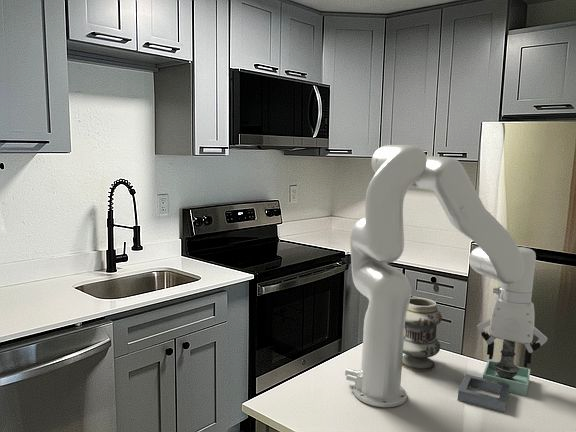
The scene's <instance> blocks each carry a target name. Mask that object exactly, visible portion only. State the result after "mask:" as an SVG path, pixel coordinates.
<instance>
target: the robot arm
mask: <svg viewBox="0 0 576 432" xmlns="http://www.w3.org/2000/svg"><path fill="white" fill-rule="evenodd" d="M371 168H372V170H373V172H374V173H375V174H374V175H373V176H372V179H371V180H370V182H369V184H368V186H367V189H366V194H365V204H364V205H365V206H364V207H365V209H364V210H365V213H364V214H365V215H364V216H365V217H363V218H360V219H359V220H358V221H356V223H355V224H354V225H353V227H352V230H351V233H350V240H349V241H350V242H349V245H350V246H349V247H350V261H351V262H350V263H351V275H352V282H353V285H354V286H355V288H356V290H357V291H358V292H359V293H360V294H362V295H363V296H364V297H366V298H367V299H368V306H367V309H366V312H365V314H364V320H363V330H362V331H363V335H362V338H363V339H362V349H361V350H362V352H361V367H360V368H361V369H359V370H355V369H352V368H348V367H347V368H346V369H345V372H344V375H345V378H346V381H350V382H354V383H355V384H354V386H353V394H354V397H356V399H358V400H359V401H361V402H363V403H364V404H367V405H369V406H373V407H378V408H395V407H398V406H401V405H403V404H404V403H405V402H406V401H407V391H406V389H405V388H404V387H403V386H401V385H402V384H401V383H402V382H401V381H402V369H403V366H402V358H403V356H404V353H403V345H404V330H405V320H406V314H407V309H408V305H409V302H410V298H412V297H411V296H412V286H411V283H410V281H409V279H408V277H407V276H406V275H405V274H404V273H403V272H402V271H400V270H399V269H397V268H395V267H394V266H392V265H390V264H389V263H394V262H397V261H398V260H399V259H400V257H401V256H402V255H403V253H404V250H405V249H404V248H405V234H404V233H405V232H404V231H405V230H404V200H405V196H406V194H407V192H408V190H409V189H410V188H411V187H412V188H417V189H421V190H426V191H431V192H433V193H434V195H435V197H436V198H437V200H438V202H439V204H440V205H441V207H442V209H443V211H444V213H445V215H446V217H447V218H448V220H449V222H450V224H451V225H452V227H454V228H455V229H456V230H457V231H459V233H461V234H463V235H464V236H466V238H468V239H470V240H471V241H473V242H474V243H475V244H476V245H477V247H475V248H474V249H472V251H471V252H470V253H469V256H468V263H469V265H470V267H471V269H472V270H473V271H474V272H475V273H477V274H480V275H482V276H484V277H487V278H490V279H492V280H494V281H496V282H499V287H493V290H492V293H493V294H496V295H497V296H496V298H495V299H494V301H493V305H492V308H491V313H490V315H491V316H490V318H489V319H486V320H485V321H483V322H481V323H478V324H477V326H476V328H477V330H478V332H479V333H480V335H481V338H483V339H484V341H485V342H486V344H487V348H486V355H487V356H488V360H491V361H492V360H493V357H494V352H495V340H496V339H499V340H501V341H502V340H503V341H504V340H507V341H512V342H515V343H517V344H523V345H524V347H525V348H526V349H525V353H524V361H523V362H524V363H523V368H527V369H528V364H529V365H530V364H531V363H532V354H533V352H535V351H537V350H538V349H540V348H541V346H543V345H544V344H546V343H547V341H548V337H547V336H546V335H545V334H543V333H542V332H541V331H540V330H539V329H538V328H537V327H536V326H535V317H536V316H535V315H536V314H535V305H534V303H533V302H532V296H533V288H534V280H535V279H534V277H535V269H536V259H537V256H536V255H537V254H536V252H535V250H533V249H531V248H528V247H523V246H518V245H517V243H516V241H515V240H514V238H513V236H512V235H511V234H510V232H509V231H508V230H507V229H506V228H505V227H504V226H503V225H502V223H500V222H499V221H498V220H497V218H496V217H494V215H492V213H491V212H489V211H488V210H487V209H486V207H485V205H484V203H483V202H482V199H481V198H480V196H479V194H478V192H477V191H476V188H475V186H474V185H473V182H472V181H471V179H470V177H469V175H468V173H467V171H466V169H465V168H464V165H463V164H462V163H461V162H460V161H459V160H458V159H457V158H454V157H449V156H434V155H427V154H426V152H425V151H424V150H422V148H420V147H418V146H416V145H412V144H387V145H383V146H380V147H379V148H378V149H376V150H375V151H374V154H373V155H372V157H371ZM487 327H488V330H489V333H488V331H486V329H485V328H487ZM534 336H535V337H537V339H538V340H537V341H535V342H533V339H534ZM532 342H533V343H532Z"/></svg>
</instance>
